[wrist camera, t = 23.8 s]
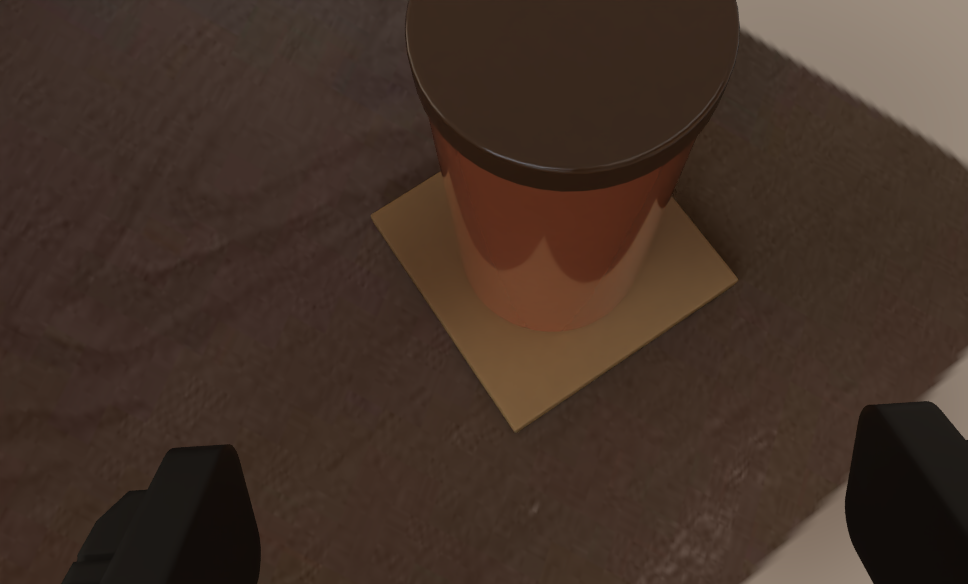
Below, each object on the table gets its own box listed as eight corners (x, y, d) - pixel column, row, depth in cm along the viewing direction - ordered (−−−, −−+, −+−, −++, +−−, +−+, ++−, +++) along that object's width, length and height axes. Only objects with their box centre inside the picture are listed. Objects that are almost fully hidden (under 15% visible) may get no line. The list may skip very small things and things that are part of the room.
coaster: (735, 284, 22) (739, 279, 22) (515, 433, 21) (515, 431, 21) (580, 91, 24) (581, 82, 23) (372, 221, 23) (369, 214, 22)
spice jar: (684, 267, 22) (812, 53, 12) (525, 373, 21) (526, 237, 11) (573, 125, 23) (608, -171, 13) (420, 221, 22) (343, -16, 13)
